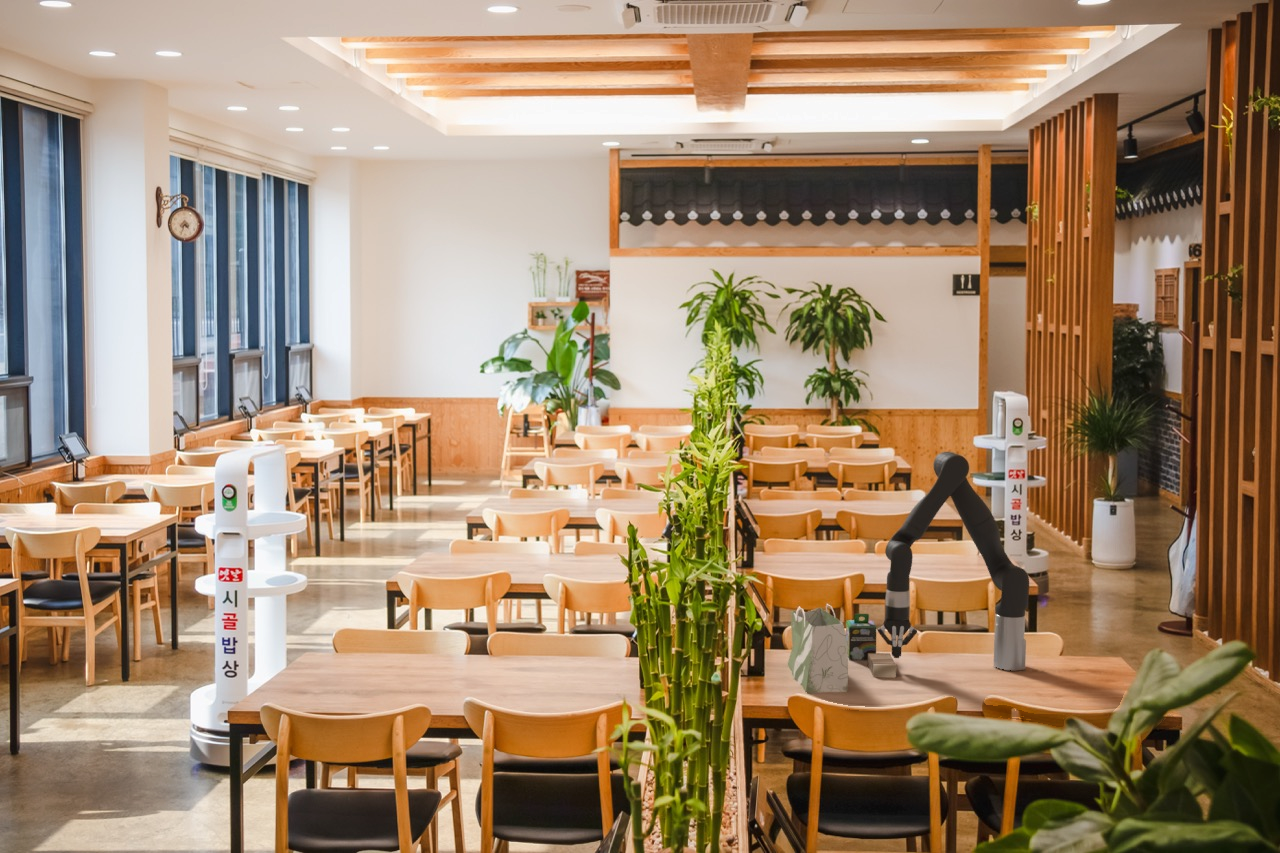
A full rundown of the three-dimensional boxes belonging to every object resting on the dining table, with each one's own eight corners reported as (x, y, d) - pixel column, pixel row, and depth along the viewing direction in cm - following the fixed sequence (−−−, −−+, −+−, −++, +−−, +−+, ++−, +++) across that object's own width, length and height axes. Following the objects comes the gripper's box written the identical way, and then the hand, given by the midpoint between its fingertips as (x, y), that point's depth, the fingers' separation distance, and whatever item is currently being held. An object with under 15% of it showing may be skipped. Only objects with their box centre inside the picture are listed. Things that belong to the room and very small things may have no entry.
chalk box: (872, 653, 435) (873, 609, 434) (876, 660, 426) (877, 616, 425) (844, 653, 435) (845, 609, 434) (848, 660, 426) (849, 615, 425)
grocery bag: (783, 664, 421) (784, 594, 419) (825, 664, 422) (826, 593, 420) (803, 693, 389) (805, 617, 387) (849, 692, 390) (851, 616, 388)
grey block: (896, 665, 406) (889, 653, 420) (873, 664, 406) (867, 653, 420) (895, 677, 406) (889, 665, 420) (873, 677, 407) (867, 665, 421)
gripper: (878, 606, 408) (877, 660, 409) (920, 606, 407) (919, 661, 409) (874, 600, 415) (873, 654, 417) (916, 601, 415) (915, 654, 416)
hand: (896, 657), depth 413 cm, fingers closed
